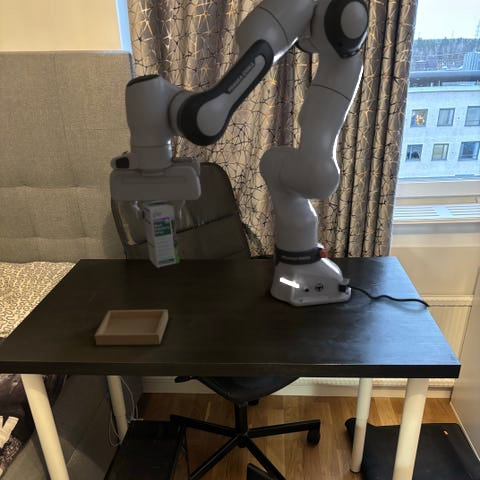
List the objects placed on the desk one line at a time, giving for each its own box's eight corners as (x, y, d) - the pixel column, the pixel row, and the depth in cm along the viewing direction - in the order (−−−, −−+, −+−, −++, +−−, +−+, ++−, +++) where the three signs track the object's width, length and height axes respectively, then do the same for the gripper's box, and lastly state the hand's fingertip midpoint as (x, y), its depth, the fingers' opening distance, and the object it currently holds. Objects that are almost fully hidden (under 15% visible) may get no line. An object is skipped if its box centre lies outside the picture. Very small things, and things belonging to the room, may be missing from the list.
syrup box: (157, 268, 117) (149, 208, 110) (149, 260, 122) (141, 201, 115) (179, 263, 119) (173, 204, 112) (171, 255, 124) (165, 198, 117)
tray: (168, 318, 131) (167, 309, 129) (159, 344, 120) (158, 334, 118) (110, 319, 131) (108, 310, 130) (96, 345, 120) (94, 335, 119)
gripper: (200, 153, 111) (204, 214, 117) (110, 155, 112) (119, 215, 118) (197, 159, 105) (202, 222, 112) (102, 161, 106) (112, 223, 113)
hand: (159, 218), depth 115 cm, fingers closed on syrup box, 7 cm apart
